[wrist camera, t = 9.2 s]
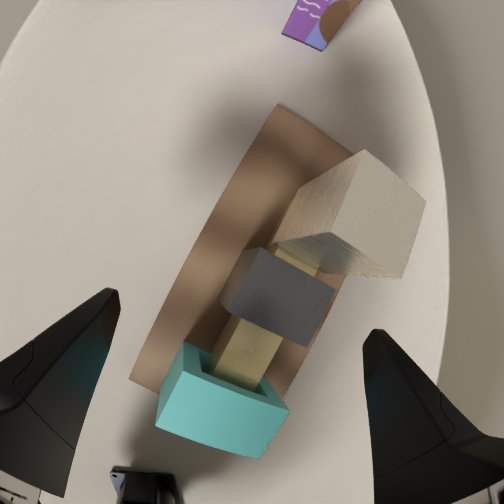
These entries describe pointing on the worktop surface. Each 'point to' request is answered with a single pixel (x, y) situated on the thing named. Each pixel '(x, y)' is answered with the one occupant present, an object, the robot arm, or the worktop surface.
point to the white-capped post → (328, 249)
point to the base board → (241, 248)
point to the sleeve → (276, 295)
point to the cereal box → (317, 20)
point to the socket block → (217, 407)
